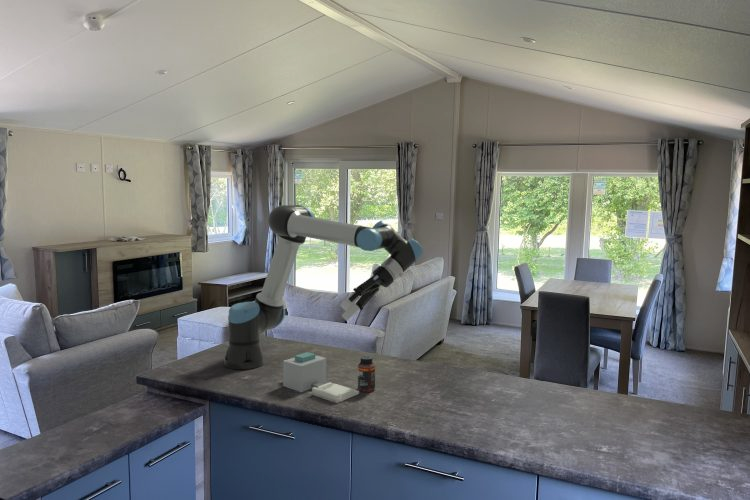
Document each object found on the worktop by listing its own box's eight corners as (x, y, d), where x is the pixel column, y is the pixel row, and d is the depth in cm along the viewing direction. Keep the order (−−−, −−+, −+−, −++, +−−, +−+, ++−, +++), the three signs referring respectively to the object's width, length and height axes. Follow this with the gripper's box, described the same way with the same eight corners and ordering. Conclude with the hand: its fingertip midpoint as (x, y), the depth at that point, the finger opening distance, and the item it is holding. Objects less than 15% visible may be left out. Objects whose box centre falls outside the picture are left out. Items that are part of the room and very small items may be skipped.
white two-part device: (275, 383, 188) (275, 354, 187) (300, 375, 197) (300, 346, 196) (335, 403, 170) (335, 371, 169) (359, 393, 179) (360, 362, 178)
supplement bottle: (375, 387, 186) (376, 355, 185) (374, 393, 180) (374, 360, 179) (358, 386, 186) (359, 354, 185) (356, 392, 181) (356, 359, 179)
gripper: (396, 268, 178) (350, 311, 172) (392, 290, 201) (351, 329, 195) (381, 253, 180) (334, 295, 174) (378, 277, 203) (337, 314, 197)
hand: (343, 313), depth 184 cm, fingers open, 13 cm apart
